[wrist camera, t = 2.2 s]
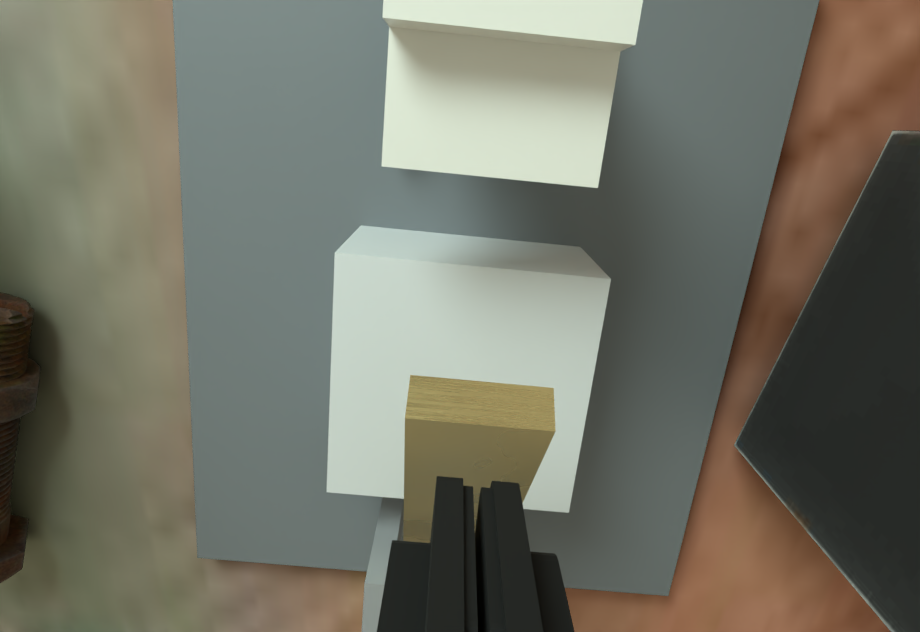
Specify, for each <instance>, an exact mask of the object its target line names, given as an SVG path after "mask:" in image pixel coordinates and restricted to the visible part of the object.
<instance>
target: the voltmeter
mask: <svg viewBox="0 0 920 632" xmlns="http://www.w3.org/2000/svg"><path fill="white" fill-rule="evenodd" d="M734 446H735V447H736V448H737V450H738V451H739V452H740V453H741V454H742V455H743V457H744V458H745V459H746V460H747V461H748V463H749V464H750V465H751V466H752V467H753V469H754V470H755V471H756V472H757V473H758V474H759V476H760V477H761V478H762V479H763V480H764V482H765V483H766V484H767V485H768V486H769V487H770V489H771V490H772V491H773V492H774V493H775V495H776V496H777V497H778V498H779V499H780V501H781V502H782V503H783V504H784V505H785V506H786V508H787V509H788V510H789V511H790V512H791V514H792V515H793V516H794V517H795V518H796V520H797V521H798V522H799V523H800V524H801V525H802V527H803V528H804V529H805V530H806V531H807V533H808V534H809V535H810V536H811V537H812V539H813V540H814V541H815V542H816V543H817V544H818V546H819V547H820V548H821V549H822V550H823V552H824V553H825V554H826V555H827V556H828V557H829V559H830V560H831V561H832V562H833V563H834V565H835V566H836V567H837V568H838V569H839V571H840V572H841V573H842V574H843V575H844V576H845V578H846V579H847V580H848V581H849V582H850V584H851V585H852V586H853V587H854V588H855V590H856V591H857V592H858V593H859V594H860V595H861V597H862V598H863V599H864V600H865V601H866V603H867V604H868V605H869V606H870V607H871V609H872V610H873V611H874V612H875V613H876V614H877V616H878V617H879V618H880V619H881V620H882V622H883V623H884V624H885V625H886V626H887V628H888V629H889V630H890V631H891V632H920V131H896V130H893V131H892V133H891V135H890V137H889V139H888V141H887V143H886V145H885V147H884V149H883V151H882V153H881V155H880V157H879V159H878V161H877V163H876V165H875V167H874V169H873V171H872V173H871V175H870V177H869V179H868V180H867V182H866V184H865V186H864V188H863V190H862V192H861V194H860V196H859V198H858V200H857V202H856V204H855V206H854V208H853V210H852V212H851V214H850V216H849V218H848V220H847V222H846V224H845V226H844V228H843V230H842V232H841V234H840V236H839V238H838V240H837V242H836V244H835V246H834V248H833V250H832V252H831V254H830V256H829V258H828V260H827V262H826V264H825V266H824V268H823V270H822V272H821V274H820V276H819V278H818V280H817V282H816V283H815V285H814V287H813V289H812V291H811V293H810V295H809V297H808V299H807V301H806V303H805V305H804V307H803V309H802V311H801V313H800V315H799V317H798V319H797V321H796V323H795V325H794V327H793V329H792V331H791V333H790V335H789V337H788V339H787V341H786V343H785V345H784V347H783V349H782V351H781V353H780V355H779V357H778V359H777V361H776V363H775V365H774V367H773V369H772V371H771V373H770V375H769V377H768V379H767V381H766V383H765V385H764V387H763V389H762V391H761V393H760V395H759V397H758V398H757V400H756V402H755V404H754V406H753V408H752V410H751V412H750V414H749V416H748V418H747V420H746V422H745V424H744V426H743V428H742V430H741V432H740V434H739V436H738V438H737V440H736V442H735V444H734Z"/></svg>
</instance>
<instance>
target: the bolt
mask: <svg viewBox="0 0 920 632" xmlns="http://www.w3.org/2000/svg"><path fill="white" fill-rule="evenodd" d="M33 314H34V310H33V308H31V307H30V304H29V303H28V302H27V301H26V300H24V299H22V298H19V297H16V296H13V295H10V294H5V293H0V583H1V582H3V581H4V580H6V579H8V578H10V577H11V576H12V575H14V574H15V573H17V572H18V571H20V570H21V569H22V567H23V560H24V553H25V545H26V537H27V529H28V521H29V519H27V518H24V517H20V516H16V515H12V514H11V504H10V499H11V490H12V480H13V474H14V464H15V457H16V450H17V441H18V434H19V428H20V426H19V424H20V418H21V417H22V416H23V415H25V414H27V413H29V412H31V411H33V410H35V407H36V400H37V393H38V386H39V378H40V371H41V367H40V366H39V365H38V364H37V363H36V362H35V361H33V360H32V359H30V358H28V352H29V345H30V342H29V341H30V338H31V336H30V334H31V331H32V330H31V326H32V321H33Z"/></svg>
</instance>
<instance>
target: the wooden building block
mask: <svg viewBox="0 0 920 632" xmlns="http://www.w3.org/2000/svg"><path fill="white" fill-rule="evenodd" d="M555 432H556V431H555V407H554V388H549V387H538V386H527V385H516V384H505V383H494V382H483V381H472V380H461V379H450V378H439V377H428V376H417V375H410V381H409V389H408V397H407V405H406V413H405V448H404V528H403V541H410V542H422V543H430V538H431V528H432V518H433V508H434V498H435V488H436V478H437V476H443V477H455V478H463V486H473V497H474V526H475V528H476V520H477V512H478V504H479V496H480V490H481V487H486V488H490V486H491V482H492V481H501V482H513V483H519V486H520V491H521V498H522V503H523V501H524V499H525V497H526V494H527V492H528V490H529V488H530V486H531V484H532V481H533V479H534V477H535V475H536V473H537V471H538V468H539V466H540V464H541V462H542V460H543V458H544V455H545V453H546V451H547V449H548V447H549V445H550V442H551V440H552V438H553V436H554V434H555Z"/></svg>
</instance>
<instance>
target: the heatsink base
mask: <svg viewBox="0 0 920 632" xmlns="http://www.w3.org/2000/svg"><path fill="white" fill-rule="evenodd" d="M818 4H819V0H643V4H642V10H641V15H640V21H639V27H638V33H637V39H636V45H634V46H632V47H629V48H627V49H625V50H623V51H620V58H619V64H618V70H617V76H616V82H615V88H614V94H613V100H612V106H611V112H610V118H609V124H608V130H607V136H606V142H605V148H604V154H603V160H602V166H601V172H600V178H599V184H598V188H592V187H582V186H572V185H562V184H552V183H542V182H532V181H522V180H512V179H502V178H492V177H482V176H472V175H462V174H452V173H442V172H432V171H422V170H412V169H402V168H392V167H382V166H381V165H382V147H383V129H384V111H385V93H386V75H387V57H388V40H389V26H388V24H387V23H386V22H385V20H384V19H383V18H382V16H383V0H173V18H174V41H175V63H176V86H177V108H178V131H179V153H180V176H181V198H182V221H183V243H184V266H185V288H186V311H187V333H188V356H189V378H190V401H191V423H192V446H193V468H194V491H195V513H196V536H197V558H206V559H218V560H231V561H243V562H255V563H268V564H280V565H292V566H305V567H317V568H329V569H342V570H354V571H366V572H367V574H366V579H365V585H364V602H363V619H362V632H377V627H378V621H379V615H380V609H381V603H382V597H383V591H384V585H385V579H386V573H387V567H388V561H389V555H390V549H391V543H392V540H398V541H403V528H404V448H405V413H406V405H407V397H408V389H409V381H410V375H417V376H428V377H439V378H450V379H461V380H472V381H483V382H494V383H505V384H516V385H527V386H538V387H549V388H554V407H555V431H556V432H555V434H554V436H553V438H552V440H551V442H550V445H549V447H548V449H547V451H546V453H545V455H544V458H543V460H542V462H541V464H540V466H539V468H538V471H537V473H536V475H535V477H534V479H533V481H532V484H531V486H530V488H529V490H528V492H527V494H526V497H525V499H524V501H523V503H522V504H523V510H524V516H525V522H526V528H527V535H528V541H529V547H530V551H531V552H543V553H555V554H556V556H557V558H558V561H559V566H560V570H561V574H562V579H563V583H564V588H576V589H589V590H601V591H613V592H626V593H638V594H650V595H663V596H668V595H669V591H670V587H671V583H672V579H673V575H674V572H675V568H676V564H677V560H678V556H679V552H680V548H681V544H682V540H683V536H684V532H685V528H686V524H687V520H688V516H689V512H690V508H691V505H692V501H693V497H694V493H695V489H696V485H697V481H698V477H699V473H700V469H701V465H702V461H703V457H704V453H705V449H706V445H707V441H708V437H709V434H710V430H711V426H712V422H713V418H714V414H715V410H716V406H717V402H718V398H719V394H720V390H721V386H722V382H723V378H724V374H725V370H726V366H727V363H728V359H729V355H730V351H731V347H732V343H733V339H734V335H735V331H736V327H737V323H738V319H739V315H740V311H741V307H742V303H743V299H744V296H745V292H746V288H747V284H748V280H749V276H750V272H751V268H752V264H753V260H754V256H755V252H756V248H757V244H758V240H759V236H760V232H761V228H762V225H763V221H764V217H765V213H766V209H767V205H768V201H769V197H770V193H771V189H772V185H773V181H774V177H775V173H776V169H777V165H778V161H779V158H780V154H781V150H782V146H783V142H784V138H785V134H786V130H787V126H788V122H789V118H790V114H791V110H792V106H793V102H794V98H795V94H796V90H797V87H798V83H799V79H800V75H801V71H802V67H803V63H804V59H805V55H806V51H807V47H808V43H809V39H810V35H811V31H812V27H813V23H814V19H815V16H816V12H817V8H818Z"/></svg>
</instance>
